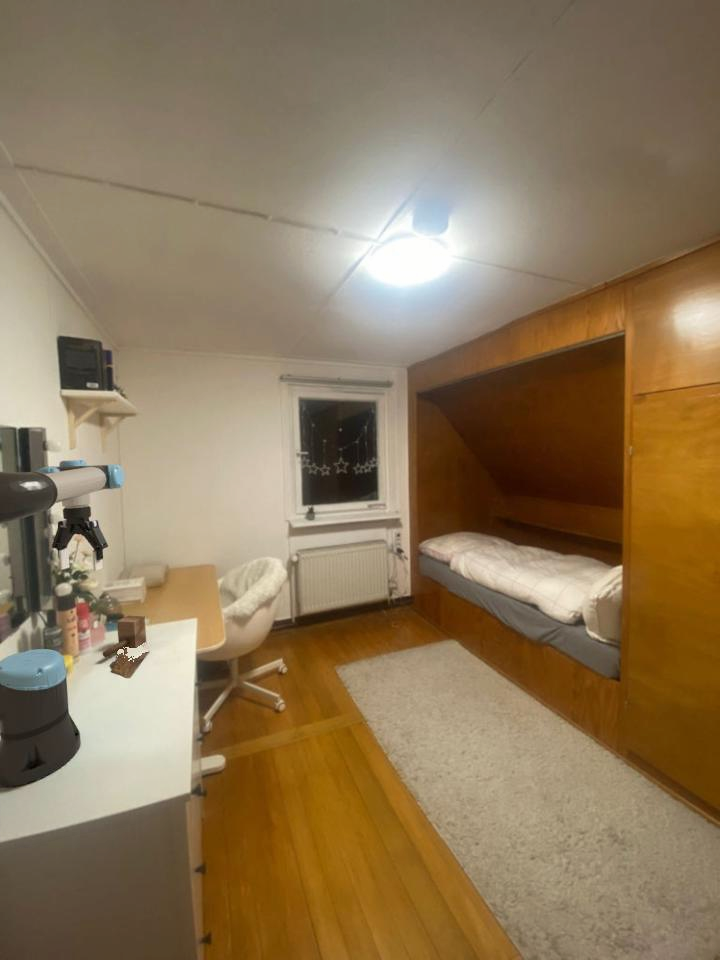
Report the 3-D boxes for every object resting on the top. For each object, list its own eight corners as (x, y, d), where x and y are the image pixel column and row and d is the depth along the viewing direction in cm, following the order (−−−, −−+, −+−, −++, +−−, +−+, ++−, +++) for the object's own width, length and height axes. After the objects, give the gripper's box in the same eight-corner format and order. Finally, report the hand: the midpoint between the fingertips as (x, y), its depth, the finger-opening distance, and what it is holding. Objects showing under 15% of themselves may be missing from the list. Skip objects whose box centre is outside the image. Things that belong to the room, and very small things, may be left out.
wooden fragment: (117, 647, 139) (117, 644, 139) (152, 640, 143) (152, 638, 143) (103, 685, 115) (102, 681, 115) (144, 675, 119) (144, 672, 119)
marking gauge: (114, 663, 127) (112, 633, 126) (96, 661, 128) (94, 632, 128) (146, 643, 141) (144, 616, 140) (130, 642, 142) (128, 615, 141)
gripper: (117, 504, 129) (121, 566, 131) (57, 505, 135) (61, 565, 136) (98, 507, 122) (102, 573, 123) (35, 508, 127) (40, 571, 128)
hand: (81, 569), depth 130 cm, fingers open, 13 cm apart
